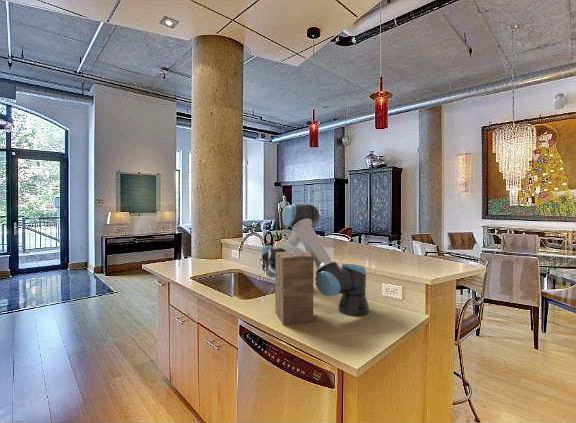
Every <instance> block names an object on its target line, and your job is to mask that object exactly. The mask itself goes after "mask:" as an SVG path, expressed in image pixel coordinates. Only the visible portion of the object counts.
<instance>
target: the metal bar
mask: <svg viewBox="0 0 576 423" xmlns="http://www.w3.org/2000/svg"><path fill="white" fill-rule="evenodd" d="M280 245H281V246H280V248H282V249H284V250H285V251H287V252H289V253H290V254H292V255H293V256H295V257H301V256H302V251H303V250H302V249H301V248H299V247H296V246H294V245H292V244H290V243H288V242H287V241H282V242H281V243H280Z"/></svg>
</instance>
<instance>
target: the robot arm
mask: <svg viewBox="0 0 576 423" xmlns="http://www.w3.org/2000/svg"><path fill="white" fill-rule="evenodd" d="M281 218H282V222H283V225H284V226H286V227H290V228H291V230H292V233H291V235H290V236H289V237H288V239H287V240H286V242H288V243H290V244H292V245H294V246H296V247H297V248H299V246H300V244H301V243H302V244H303V247H304V249H305V250H306V253H308V254H310V255H312V256H313V266H314V267H315V269H316V271H315V286H316V288H317V290H318V291H319V293H320V294H322V295H323V296H326V297H333V296H338V295H341V296H340V299H339V302H338V304H337V306H338V311H339V312H340V313H342V314H344V315H347V316H348V315H349V316H364V315H367V314H369V312H370V306H369V303H368V299H367V296H366V295H367V294H366V287H367V286H366V285H367V284H366V282H367V274H366V273H367V272H366V270H367V269H366V267H365V266H364V265H360V264H354V263H343V264H341V265H342V266H341V268H340V266H339V264H338V262H335V261H333V260H332V258H331V257H330V255H329V254H328V251H327V250H326V248H325V247H324V245H323V243H322V241H321V240H320V237H319V236H318V234H317V233H316V231H315V228H316V227H317V226H318V224H319V222H320V219H321V213H320V211H319V209H318V208H317V207H316V206H315V205H313V204H309V203H305V204H295V203H294V204H288V205H286V206H285V207H284V209H283V211H282V217H281ZM260 251H261V259H262V261H263V262H264V264H265V268H266V271H265V272H266V276H267V277H268V278H269V279H275V252H286V251H285V250H284V249H282V248H281V247H278V248H277V247H276V248H273V245H271V244H268V245H265V246H262V248H261V250H260Z"/></svg>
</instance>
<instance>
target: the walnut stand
mask: <svg viewBox="0 0 576 423" xmlns="http://www.w3.org/2000/svg"><path fill="white" fill-rule="evenodd" d="M274 280H275V283H274V285H275V292H274V293H275V296H274V297H275V299H274V301H275V302H274V306H275V309H274V310H275V312H274V313H275V314H276V316H277V318H278V319H279V321H280V322H281V324H282V325H283V326H290V325H299V324H308V323H309V324H310V323H314V263H313V256H312V255H310V254H308V252H307V251H303V250H302V256H301V257H295V256H293V255H292V254H290V253H289V252H287V251H286V252H275V278H274Z"/></svg>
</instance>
